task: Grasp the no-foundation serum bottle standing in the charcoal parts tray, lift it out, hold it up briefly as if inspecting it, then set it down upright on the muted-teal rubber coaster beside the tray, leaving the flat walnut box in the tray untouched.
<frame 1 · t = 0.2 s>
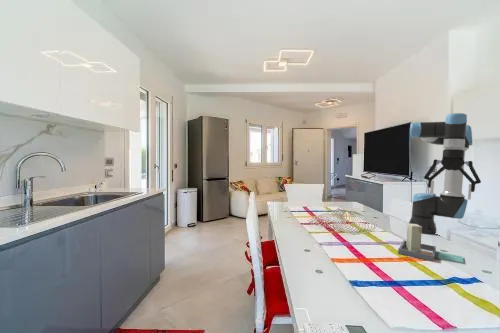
hand: (449, 197, 122), 27 cm above the table, fingers open, 13 cm apart
skincare box: (412, 250, 132), resting in tray
tray: (417, 252, 129), on the table
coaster: (450, 258, 123), on the table
walnut box: (425, 257, 123), resting in tray
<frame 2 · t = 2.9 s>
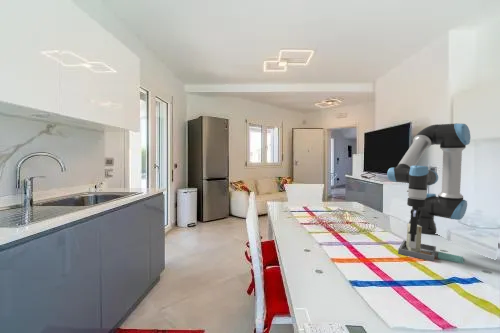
hand: (413, 245, 132), 2 cm above the table, fingers closed on skincare box, 7 cm apart
skincare box: (412, 250, 132), resting in tray, touching gripper
everything else where it was.
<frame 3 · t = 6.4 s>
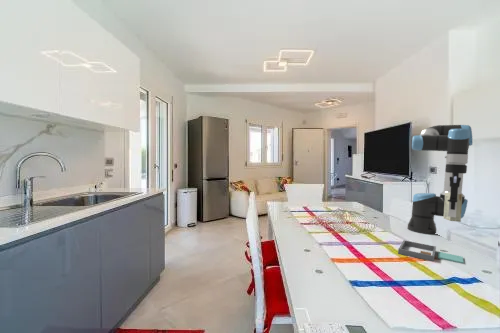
hand: (452, 215, 123), 19 cm above the table, fingers closed on skincare box, 7 cm apart
skincare box: (451, 220, 123), point 17 cm above the table, touching gripper
everything else where it was.
when the fingers open (4 cm above the table, at t = 9.6 s): skincare box drops 1 cm, resting on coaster.
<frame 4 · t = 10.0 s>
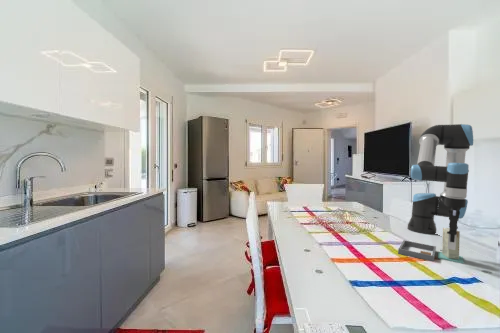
hand: (451, 245, 123), 6 cm above the table, fingers open, 12 cm apart
skincare box: (450, 256, 123), resting on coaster
everything else where it was.
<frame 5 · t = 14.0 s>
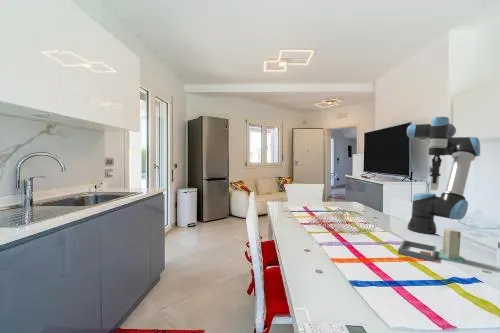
hand: (434, 189, 141), 29 cm above the table, fingers open, 13 cm apart
nothing on the table moved.
at the end: skincare box 0.1 cm from the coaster (horizontally); skincare box tilted 0°; the gripper is holding nothing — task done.
